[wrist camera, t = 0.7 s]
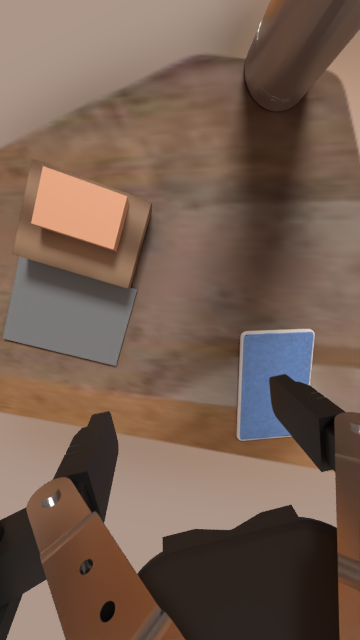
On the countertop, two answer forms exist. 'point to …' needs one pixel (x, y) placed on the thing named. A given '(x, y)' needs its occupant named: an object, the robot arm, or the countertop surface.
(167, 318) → the countertop surface
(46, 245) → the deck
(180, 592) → the robot arm
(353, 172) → the countertop surface
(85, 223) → the orange rectangular block
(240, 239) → the countertop surface
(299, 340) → the tablet computer
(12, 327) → the mat
